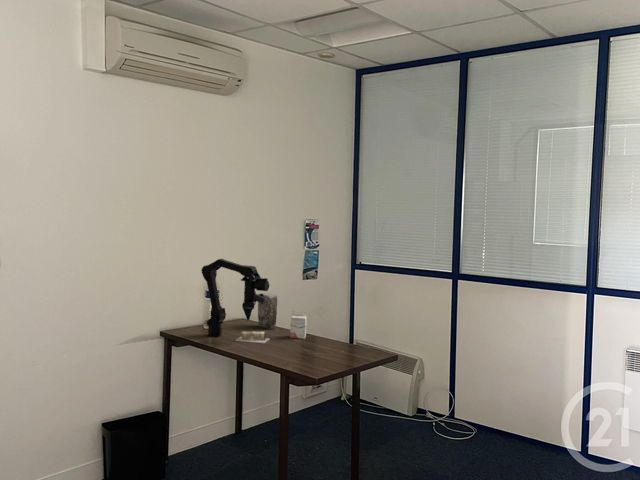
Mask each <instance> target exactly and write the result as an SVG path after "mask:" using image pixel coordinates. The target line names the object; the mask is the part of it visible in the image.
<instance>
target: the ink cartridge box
mask: <svg viewBox="0 0 640 480" xmlns="http://www.w3.org/2000/svg"><path fill="white" fill-rule="evenodd" d="M291 313H292V315H291V316H290V328H289V329H290V330H289V338H290V339H292V338H293V339H304V340H305V339H306V337H307V311H306V310H294V309H293V310H292V312H291Z"/></svg>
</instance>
